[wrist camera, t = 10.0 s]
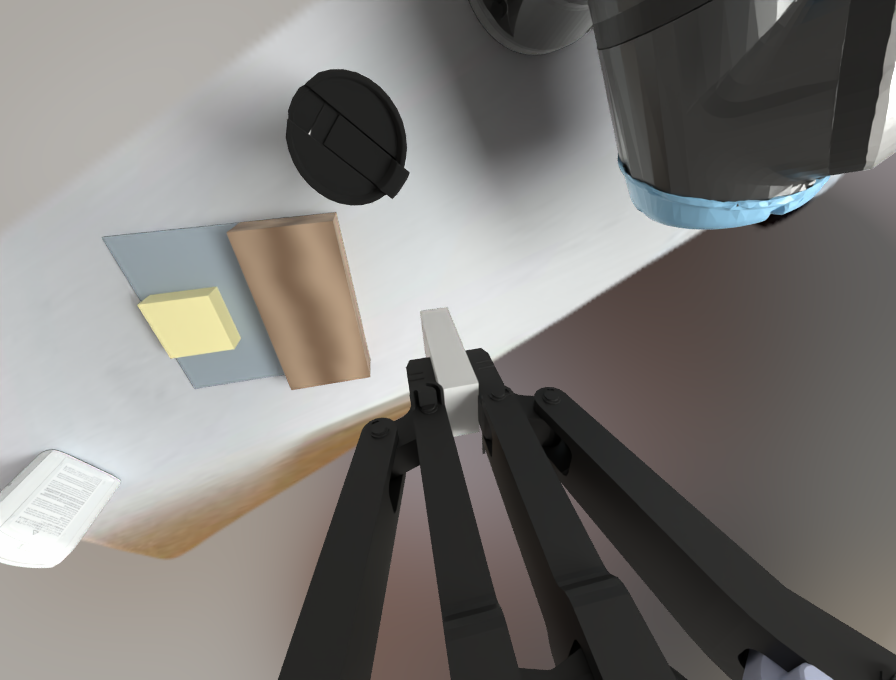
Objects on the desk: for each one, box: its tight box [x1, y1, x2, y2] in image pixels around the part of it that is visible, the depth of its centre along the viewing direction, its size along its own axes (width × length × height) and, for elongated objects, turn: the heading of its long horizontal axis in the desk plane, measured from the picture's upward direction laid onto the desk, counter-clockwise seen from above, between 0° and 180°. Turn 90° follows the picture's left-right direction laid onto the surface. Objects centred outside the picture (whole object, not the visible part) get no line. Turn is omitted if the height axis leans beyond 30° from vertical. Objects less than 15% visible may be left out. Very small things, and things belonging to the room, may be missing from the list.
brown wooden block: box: [226, 212, 370, 390], centre depth 41 cm, size 10×20×4 cm, turn 3°
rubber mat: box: [102, 223, 285, 389], centre depth 41 cm, size 13×20×1 cm, turn 3°
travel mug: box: [286, 69, 409, 205], centre depth 26 cm, size 6×7×20 cm
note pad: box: [137, 287, 241, 359], centre depth 39 cm, size 7×7×2 cm
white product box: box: [0, 450, 121, 568], centre depth 44 cm, size 10×4×12 cm, turn 30°
